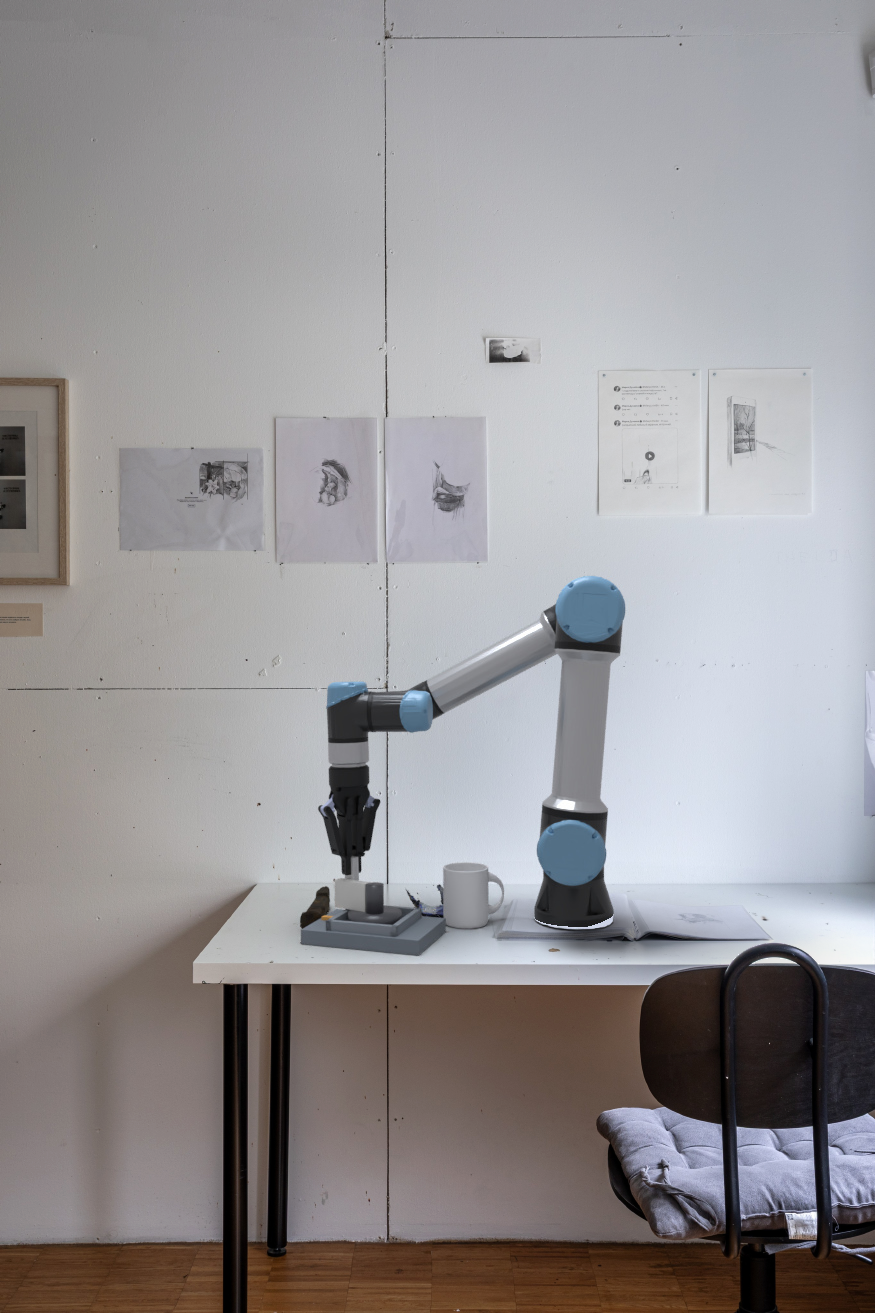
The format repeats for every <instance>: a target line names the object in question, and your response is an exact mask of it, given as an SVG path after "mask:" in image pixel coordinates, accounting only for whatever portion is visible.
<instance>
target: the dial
mask: <svg viewBox="0 0 875 1313" xmlns="http://www.w3.org/2000/svg"><path fill="white" fill-rule="evenodd" d="M384 886H385V885H384V883H383V882H380V881H379V882H378V881H377V882H375V881H373V882H371V881H364V880H359V881H358V880H352V879H345V877H344V878H343V877H339V878H335V879H334V907H335V908H337V909H338V908H339V909H343V910H345V909H350V911H349V912H348V921H353V922H364V923H375V924H387V925H393V924H395V923H396V922H397V921H399V920H400V919H401V910H400V909H398V908H395V907H391V906H392V905H387V906H384V905H385V902H384V898H385V897H384V895H385V894H384V892H385V891H384V890H385V889H384Z"/></svg>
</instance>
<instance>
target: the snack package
mask: <svg viewBox="0 0 875 1313" xmlns="http://www.w3.org/2000/svg"><path fill="white" fill-rule="evenodd" d="M432 886H435V884H432ZM404 888H405V891H406V894H407V896H408V897H409V900H410V901H411V903H412V905H414V908H422V916H425V917H437V916H438V918H444V915H443V886H442V885H441V884H439V883H438V885H436V889H437V891H439V892H440V893H439V894H440V899H441V900H440V903H441V904H439V905H435V906H434V905H428V904H427V903H424V902H422V901H421V900H420V899H419V897H417V899H418V900H417V899H416V898H415V897H414V895H412V894H411V892H410V891H409V890H407V888H406V887H404ZM426 888H428V887H427V886H426ZM416 894H417V895H419V893H418V892H416ZM430 907H432V908H431V910H434V911H433V912H427V911H426V912H425V908H430ZM434 912H435V913H434Z"/></svg>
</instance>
